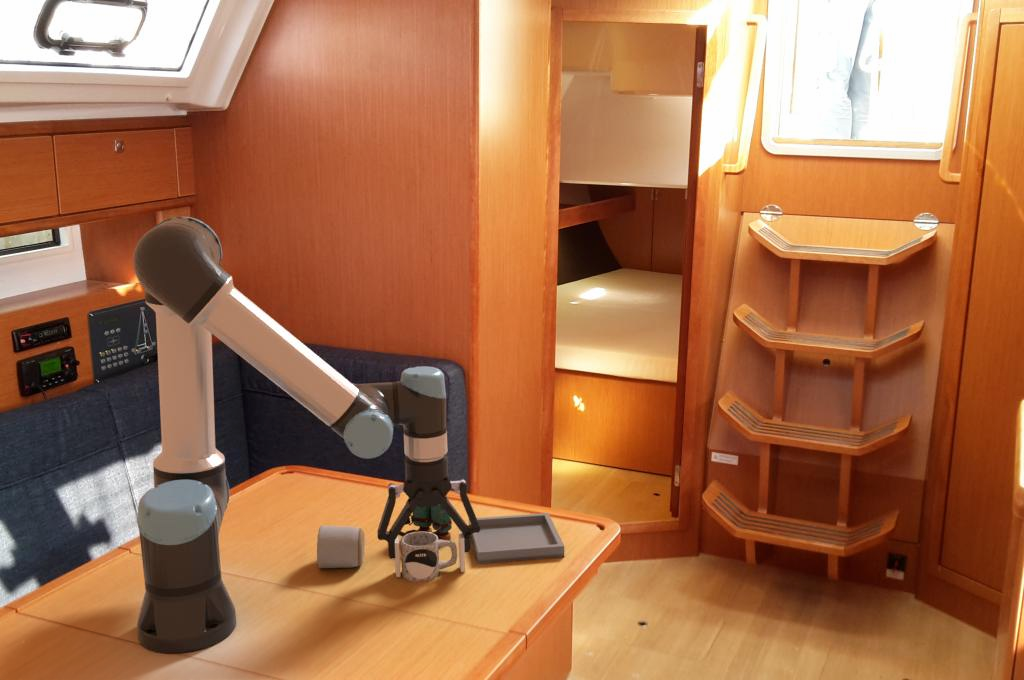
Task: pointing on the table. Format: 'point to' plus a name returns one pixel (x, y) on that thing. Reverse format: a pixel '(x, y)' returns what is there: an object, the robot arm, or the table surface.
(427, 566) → the mug
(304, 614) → the table surface
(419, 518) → the binoculars
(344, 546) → the ceramic mug
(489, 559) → the tray
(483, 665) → the table surface
